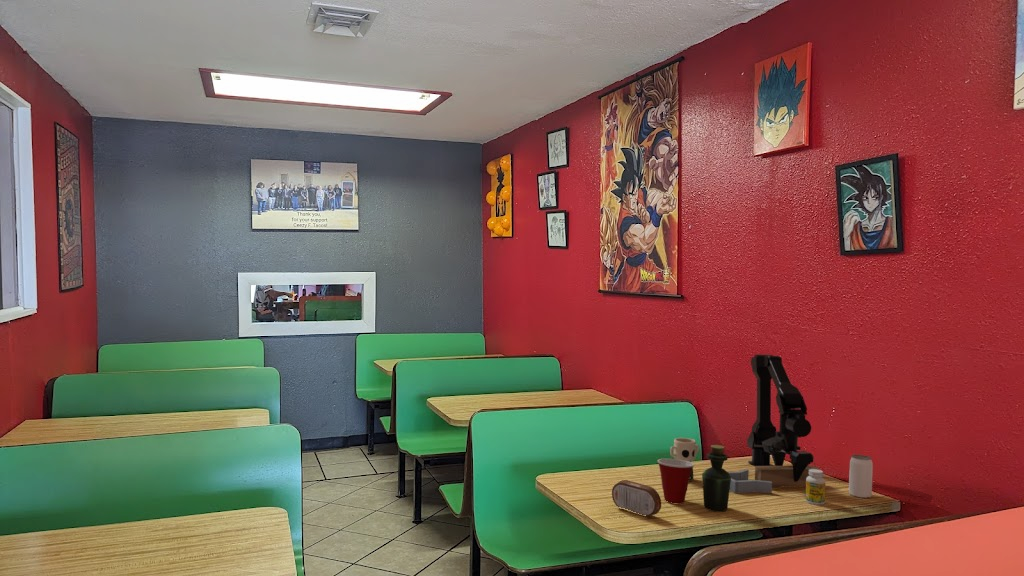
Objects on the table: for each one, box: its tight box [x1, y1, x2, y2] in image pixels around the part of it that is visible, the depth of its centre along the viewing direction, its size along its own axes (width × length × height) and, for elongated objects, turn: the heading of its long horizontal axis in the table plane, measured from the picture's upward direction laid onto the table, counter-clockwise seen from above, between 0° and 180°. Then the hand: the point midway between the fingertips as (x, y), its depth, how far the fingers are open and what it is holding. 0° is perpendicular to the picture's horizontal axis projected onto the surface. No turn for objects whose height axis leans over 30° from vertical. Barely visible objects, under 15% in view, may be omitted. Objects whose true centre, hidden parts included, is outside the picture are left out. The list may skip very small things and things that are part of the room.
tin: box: [611, 479, 662, 518], centre depth 200 cm, size 15×3×8 cm, turn 48°
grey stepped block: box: [727, 468, 773, 494], centre depth 226 cm, size 12×15×4 cm
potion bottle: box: [701, 444, 731, 513], centre depth 205 cm, size 8×8×18 cm
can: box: [848, 454, 874, 499], centre depth 221 cm, size 6×6×12 cm
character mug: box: [669, 437, 700, 481], centre depth 234 cm, size 11×7×13 cm, turn 111°
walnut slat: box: [754, 464, 820, 488], centre depth 230 cm, size 4×20×6 cm, turn 97°
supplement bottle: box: [805, 469, 826, 506], centre depth 213 cm, size 5×5×10 cm
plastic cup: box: [657, 458, 695, 504], centre depth 211 cm, size 11×11×12 cm
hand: (787, 477), depth 230 cm, fingers open, 9 cm apart
